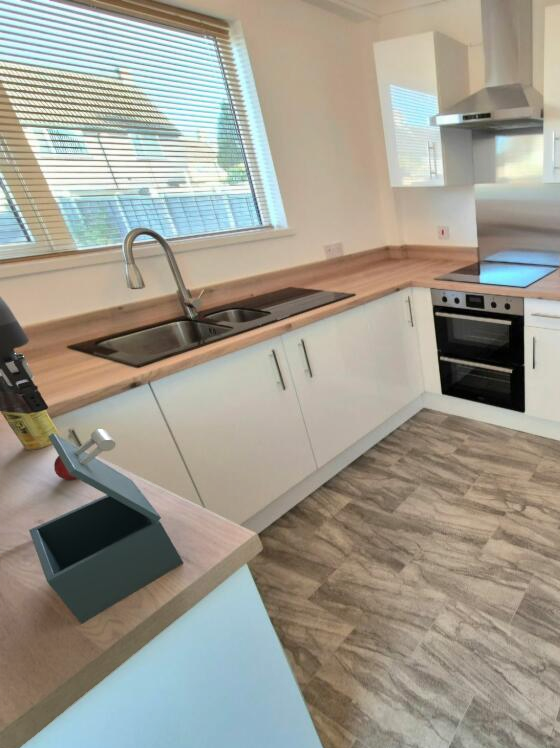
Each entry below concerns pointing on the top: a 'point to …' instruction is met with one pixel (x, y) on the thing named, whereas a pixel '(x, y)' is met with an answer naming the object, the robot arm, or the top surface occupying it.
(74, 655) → the top surface
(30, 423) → the sauce bottle
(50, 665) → the top surface
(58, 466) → the onion
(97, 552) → the chest
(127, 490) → the lid
